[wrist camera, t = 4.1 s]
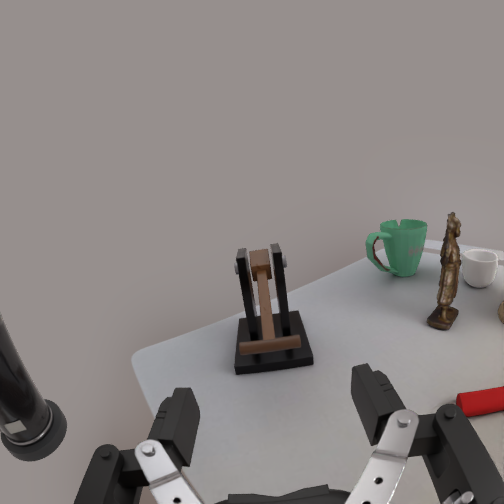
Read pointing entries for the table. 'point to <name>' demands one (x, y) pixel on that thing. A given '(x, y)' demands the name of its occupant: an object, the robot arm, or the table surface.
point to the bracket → (282, 322)
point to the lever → (265, 310)
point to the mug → (399, 246)
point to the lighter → (481, 401)
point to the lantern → (501, 312)
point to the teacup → (479, 267)
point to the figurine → (447, 277)
